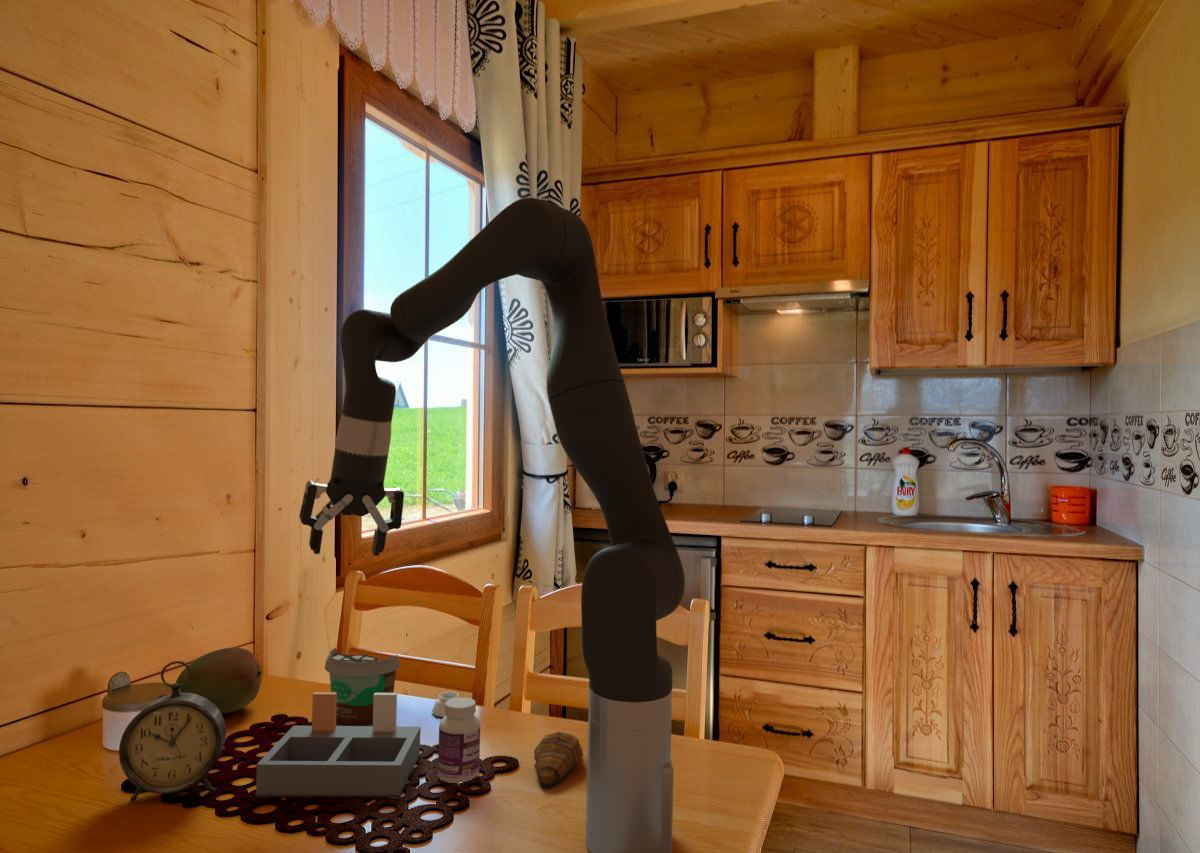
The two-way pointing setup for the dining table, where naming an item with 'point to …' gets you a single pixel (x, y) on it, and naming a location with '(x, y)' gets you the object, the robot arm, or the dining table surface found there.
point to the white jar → (443, 703)
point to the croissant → (556, 757)
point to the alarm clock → (172, 742)
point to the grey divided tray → (341, 755)
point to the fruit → (224, 678)
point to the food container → (359, 684)
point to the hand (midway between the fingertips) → (346, 553)
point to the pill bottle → (459, 741)
